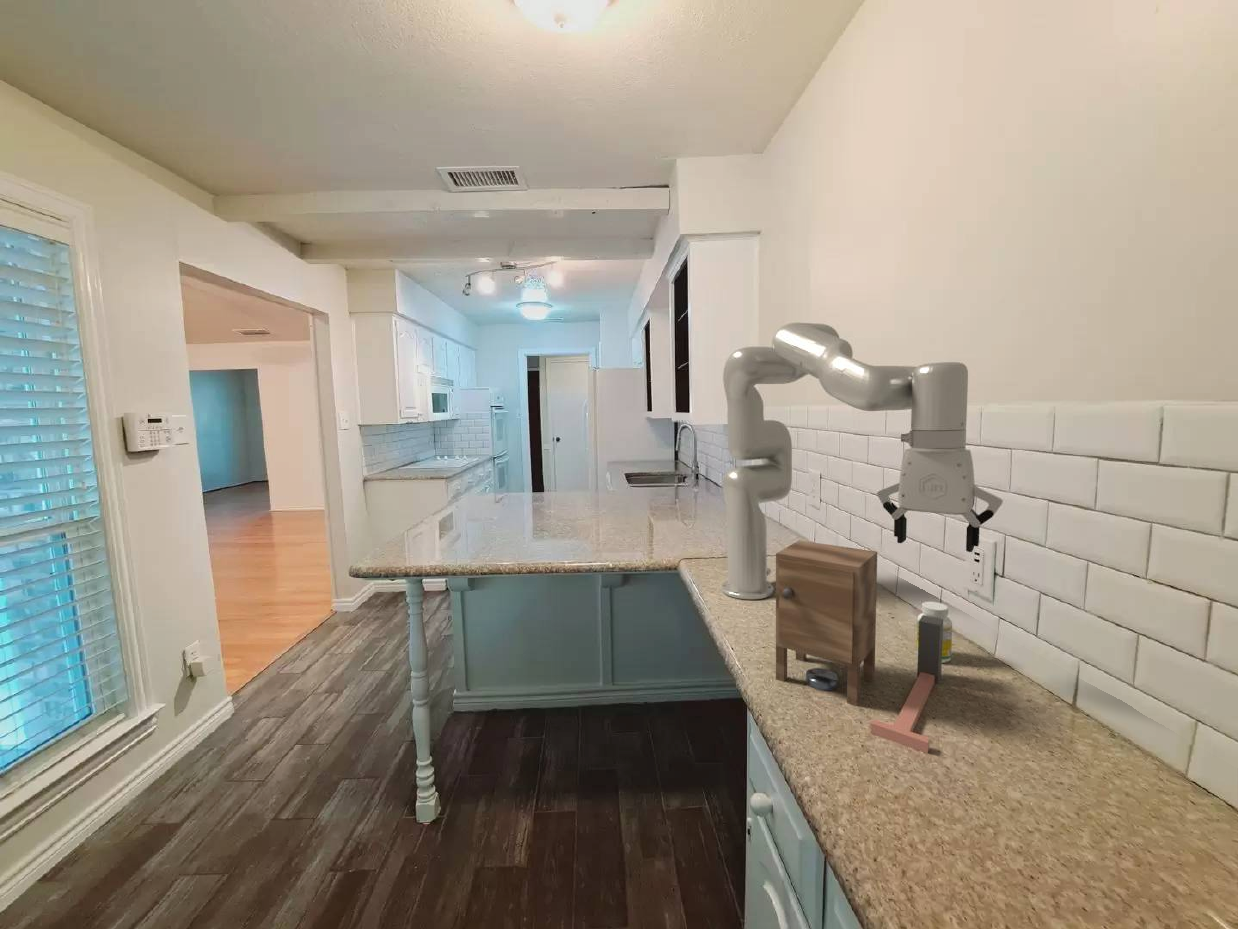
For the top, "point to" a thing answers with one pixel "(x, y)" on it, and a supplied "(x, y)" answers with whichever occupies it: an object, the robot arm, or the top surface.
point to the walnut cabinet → (827, 608)
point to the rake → (917, 688)
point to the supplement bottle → (941, 612)
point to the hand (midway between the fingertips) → (934, 545)
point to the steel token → (822, 679)
